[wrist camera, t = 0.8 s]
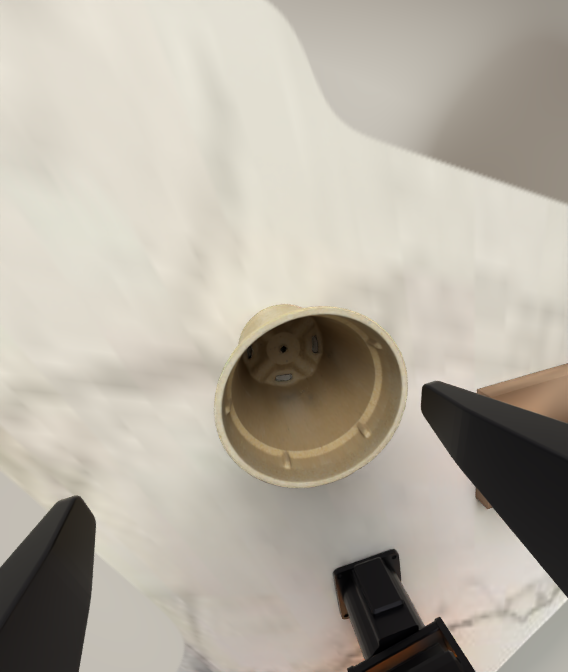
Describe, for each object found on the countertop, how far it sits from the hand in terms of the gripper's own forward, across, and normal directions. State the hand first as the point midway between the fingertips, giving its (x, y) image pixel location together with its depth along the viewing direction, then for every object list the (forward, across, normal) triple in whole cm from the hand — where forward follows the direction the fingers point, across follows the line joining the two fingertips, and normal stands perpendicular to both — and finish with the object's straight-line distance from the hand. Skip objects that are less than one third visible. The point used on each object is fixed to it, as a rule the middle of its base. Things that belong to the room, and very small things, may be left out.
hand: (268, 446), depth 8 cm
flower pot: (+14, -3, +5) cm, 15 cm away
